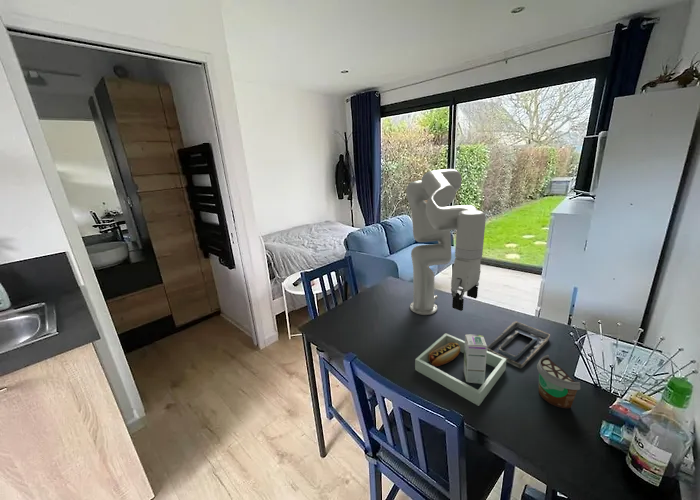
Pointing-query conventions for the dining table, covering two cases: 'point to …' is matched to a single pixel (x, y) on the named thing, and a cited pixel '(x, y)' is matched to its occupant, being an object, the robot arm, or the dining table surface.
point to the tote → (454, 383)
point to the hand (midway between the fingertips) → (464, 302)
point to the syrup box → (475, 358)
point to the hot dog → (444, 354)
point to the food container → (556, 384)
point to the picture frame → (510, 356)
